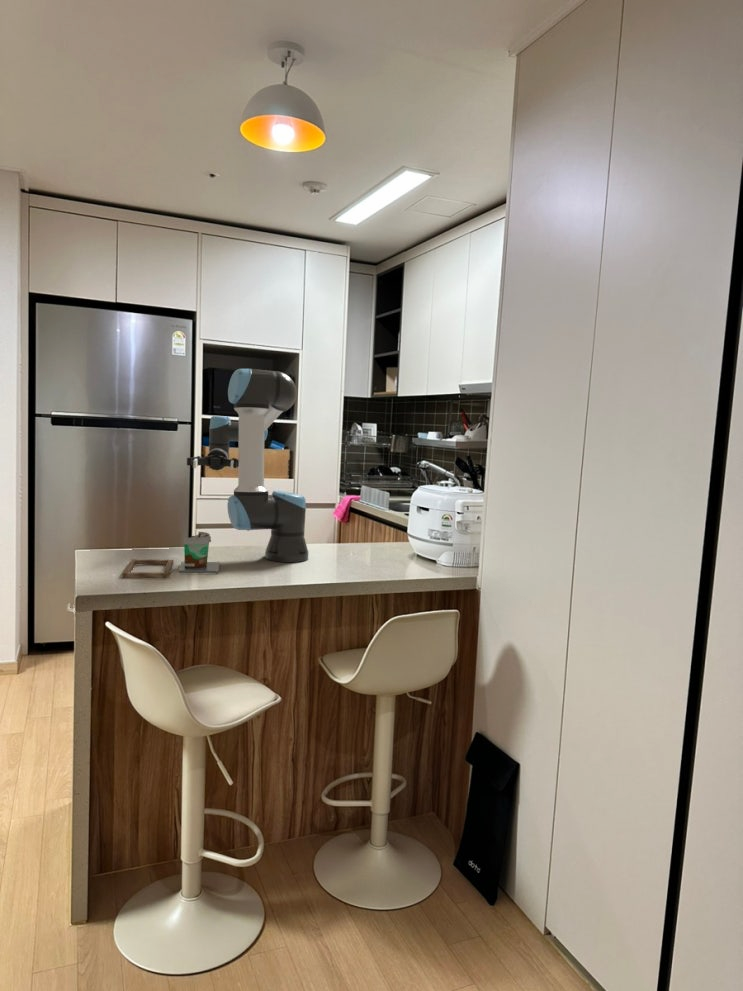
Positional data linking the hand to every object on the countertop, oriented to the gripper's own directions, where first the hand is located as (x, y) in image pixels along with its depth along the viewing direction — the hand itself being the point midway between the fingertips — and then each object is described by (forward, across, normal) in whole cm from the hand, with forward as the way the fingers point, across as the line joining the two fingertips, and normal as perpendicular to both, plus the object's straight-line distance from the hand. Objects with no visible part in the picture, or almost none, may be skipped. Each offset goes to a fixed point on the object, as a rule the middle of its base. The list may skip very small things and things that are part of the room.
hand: (213, 465), depth 234 cm
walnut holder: (+24, +17, -31) cm, 43 cm away
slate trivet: (+20, +2, -31) cm, 37 cm away
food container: (+20, +2, -30) cm, 37 cm away
